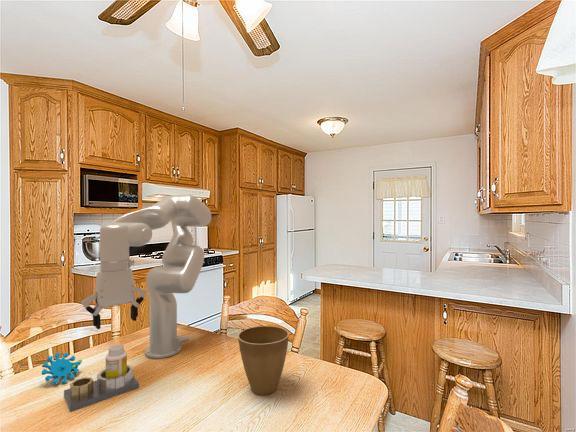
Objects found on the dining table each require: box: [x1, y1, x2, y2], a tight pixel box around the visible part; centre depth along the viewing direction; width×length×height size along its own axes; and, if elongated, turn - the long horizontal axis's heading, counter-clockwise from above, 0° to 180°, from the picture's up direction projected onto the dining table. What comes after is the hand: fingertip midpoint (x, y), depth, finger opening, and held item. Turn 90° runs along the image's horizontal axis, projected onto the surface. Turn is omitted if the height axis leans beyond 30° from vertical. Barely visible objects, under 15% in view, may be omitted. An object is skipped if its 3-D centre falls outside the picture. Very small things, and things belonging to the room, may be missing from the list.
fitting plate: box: [63, 364, 140, 413], centre depth 92 cm, size 17×10×4 cm, turn 132°
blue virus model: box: [41, 352, 83, 385], centre depth 100 cm, size 11×6×10 cm
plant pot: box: [237, 325, 290, 396], centre depth 94 cm, size 15×15×16 cm
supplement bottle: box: [105, 344, 128, 379], centre depth 95 cm, size 6×6×10 cm
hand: (116, 323), depth 95 cm, fingers open, 9 cm apart
